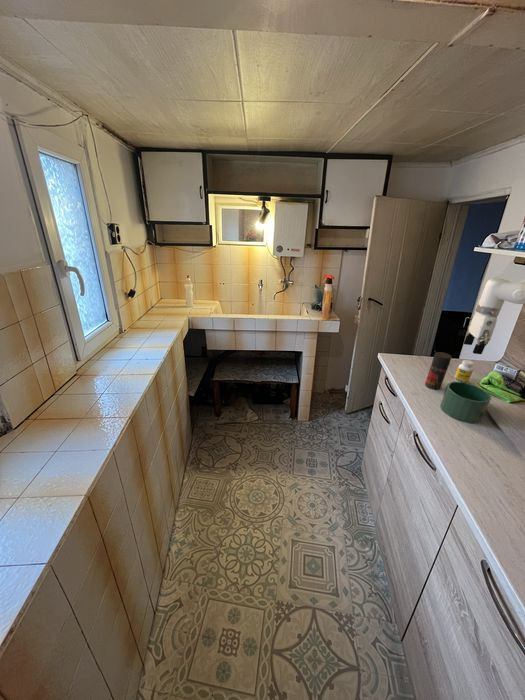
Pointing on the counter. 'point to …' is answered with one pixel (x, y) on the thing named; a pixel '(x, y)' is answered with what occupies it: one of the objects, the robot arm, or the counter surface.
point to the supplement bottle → (464, 371)
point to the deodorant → (437, 370)
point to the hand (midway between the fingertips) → (472, 348)
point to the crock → (465, 402)
